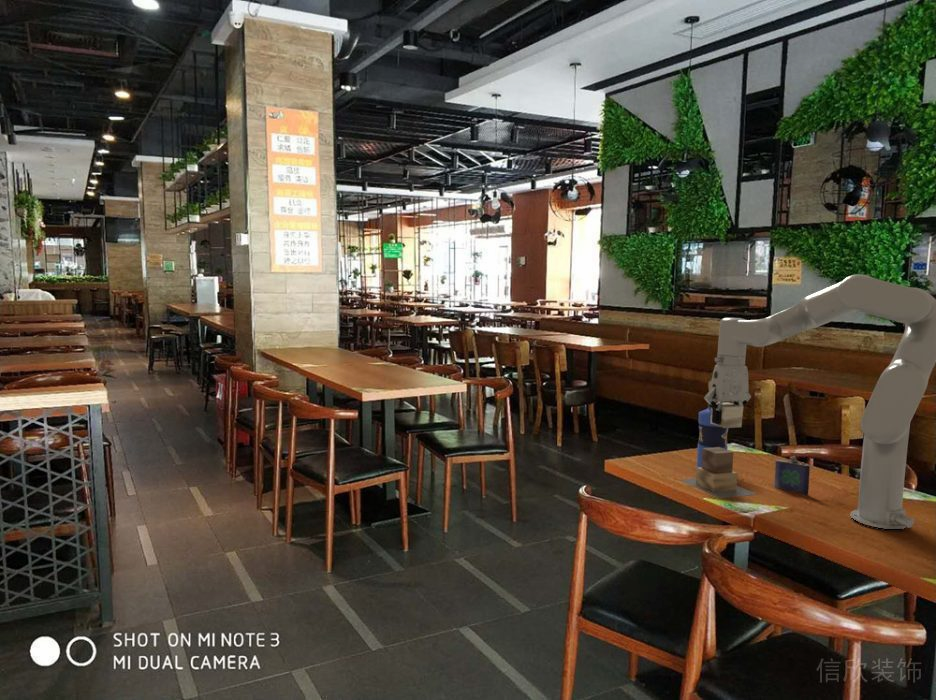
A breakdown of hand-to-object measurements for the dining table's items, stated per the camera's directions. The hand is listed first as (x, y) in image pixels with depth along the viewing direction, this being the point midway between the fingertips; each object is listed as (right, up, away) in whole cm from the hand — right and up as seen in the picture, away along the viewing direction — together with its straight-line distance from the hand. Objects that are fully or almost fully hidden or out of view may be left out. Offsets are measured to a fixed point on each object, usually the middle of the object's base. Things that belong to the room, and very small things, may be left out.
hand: (725, 422), depth 192 cm
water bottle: (+4, -18, +22) cm, 29 cm away
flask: (+20, -21, +2) cm, 29 cm away
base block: (-2, -19, +4) cm, 20 cm away
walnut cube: (-1, -14, +3) cm, 15 cm away
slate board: (-1, -20, +4) cm, 21 cm away
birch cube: (0, -1, 0) cm, 1 cm away
